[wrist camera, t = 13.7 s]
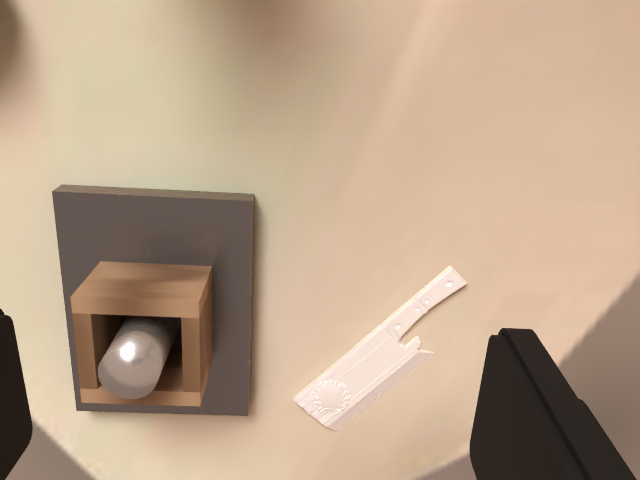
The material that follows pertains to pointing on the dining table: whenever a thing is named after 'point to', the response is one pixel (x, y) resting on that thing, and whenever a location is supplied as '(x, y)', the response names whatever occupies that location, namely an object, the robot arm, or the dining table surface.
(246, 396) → the post stand
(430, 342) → the dining table surface
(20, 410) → the robot arm
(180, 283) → the wooden box
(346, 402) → the butcher knife
